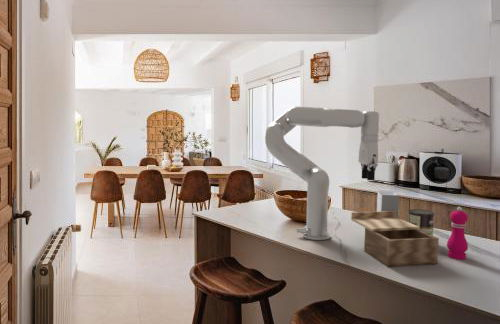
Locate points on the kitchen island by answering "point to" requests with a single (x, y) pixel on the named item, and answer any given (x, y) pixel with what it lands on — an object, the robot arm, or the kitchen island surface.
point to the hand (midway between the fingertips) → (367, 178)
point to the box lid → (381, 221)
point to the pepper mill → (458, 235)
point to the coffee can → (422, 220)
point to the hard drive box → (387, 201)
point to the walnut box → (401, 247)
